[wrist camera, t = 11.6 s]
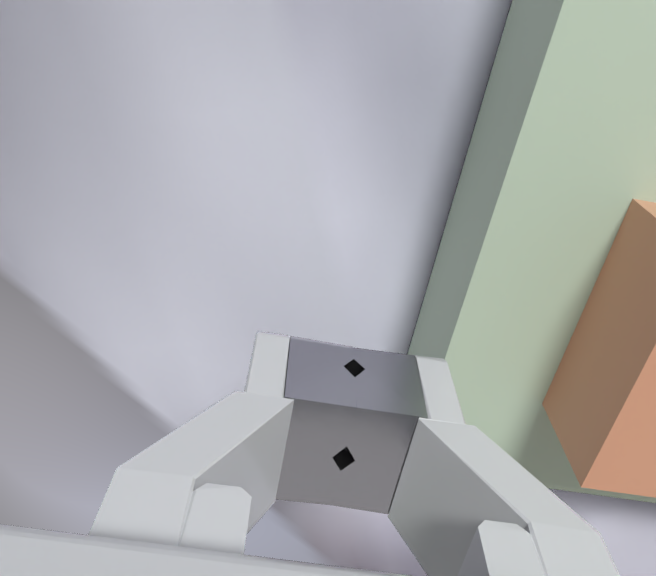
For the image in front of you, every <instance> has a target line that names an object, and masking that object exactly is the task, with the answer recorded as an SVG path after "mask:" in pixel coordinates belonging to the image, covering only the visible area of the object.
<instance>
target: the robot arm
mask: <svg viewBox="0 0 656 576" xmlns="http://www.w3.org/2000/svg"><path fill="white" fill-rule="evenodd" d="M276 499H278V500H288V501H297V502H307V503H317V504H326V505H334V506H340V507H347V508H353V509H359V510H365V511H372V512H378V513H384V514H389V515H388V518H389V519H390V521H391V522H392V524H393V525H394V526H395V528H396V529H397V531H398V532H399V534H400V535H401V537H402V538H403V540H404V541H405V543H406V544H407V546H408V547H409V549H410V550H411V552H412V553H413V555H414V556H415V558H416V559H417V560H418V562H419V563H420V565H421V566H422V568H423V569H424V571H425V572H426V574H427V575H428V576H620V575H619V573H618V571H617V568H616V566H615V564H614V562H613V560H612V558H611V555H610V553H609V551H608V549H607V547H606V545H605V543H604V540H603V538H602V536H601V534H600V533H599V532H598V531H597V530H596V529H595V528H593V527H592V526H591V525H590V524H589V523H588V522H586V521H585V520H584V519H583V518H582V517H581V516H579V515H578V514H577V513H576V512H575V511H574V510H572V509H571V508H570V507H569V506H568V505H567V504H565V503H564V502H563V501H562V500H561V499H560V498H558V497H557V496H556V495H555V494H554V493H553V492H552V491H550V490H549V489H548V488H547V487H546V486H545V485H543V484H542V483H541V482H540V481H539V480H538V479H536V478H535V477H534V476H533V475H532V474H531V473H529V472H528V471H527V470H526V469H525V468H524V467H522V466H521V465H520V464H519V463H518V462H517V461H515V460H514V459H513V458H512V457H511V456H510V455H509V454H507V453H506V452H505V451H504V450H503V449H502V448H500V447H499V446H498V445H497V444H496V443H495V442H493V441H492V440H491V439H490V438H489V437H488V436H486V435H485V434H484V433H483V432H482V431H481V430H479V429H478V428H477V427H476V426H474V425H467V424H466V423H465V420H464V416H463V413H462V410H461V406H460V403H459V400H458V396H457V393H456V389H455V386H454V383H453V379H452V376H451V373H450V369H449V366H448V363H447V361H446V360H444V359H443V358H434V357H425V356H417V355H407V354H399V353H392V352H384V351H376V350H368V349H360V348H353V347H352V346H346V345H341V344H335V343H329V342H323V341H317V340H312V339H306V338H300V337H294V336H290V338H289V336H288V335H284V334H277V333H270V332H263V331H258V332H257V333H256V336H255V341H254V346H253V351H252V356H251V361H250V366H249V371H248V375H247V380H246V385H245V390H244V392H240V391H234V392H232V393H231V394H229V395H228V396H226V397H225V398H223V399H222V400H220V401H218V402H217V403H215V404H214V405H212V406H211V407H209V408H208V409H206V410H205V411H203V412H202V413H200V414H199V415H197V416H195V417H194V418H192V419H191V420H189V421H188V422H186V423H185V424H183V425H182V426H180V427H179V428H177V429H176V430H174V431H172V432H171V433H169V434H168V435H166V436H165V437H163V438H162V439H160V440H159V441H157V442H156V443H154V444H153V445H151V446H150V447H148V448H146V449H145V450H143V451H142V452H140V453H139V454H137V455H136V456H134V457H133V458H131V459H130V460H128V461H126V462H125V463H123V464H122V465H120V466H119V467H117V469H116V471H115V473H114V476H113V478H112V480H111V483H110V485H109V487H108V490H107V492H106V495H105V497H104V499H103V501H102V504H101V506H100V509H99V511H98V513H97V516H96V518H95V520H94V522H93V525H92V527H91V529H90V532H89V534H88V535H83V534H75V533H67V532H59V531H51V530H44V529H35V528H28V527H19V526H11V525H3V524H0V576H411V575H403V574H395V573H387V572H379V571H371V570H363V569H354V568H346V567H338V566H330V565H322V564H314V563H306V562H298V561H290V560H282V559H275V558H267V557H259V556H250V555H244V550H245V542H246V535H247V534H248V532H249V531H250V530H251V529H252V528H253V527H254V526H255V524H256V523H257V522H258V521H259V520H260V519H261V518H262V517H263V515H264V514H265V513H266V512H267V511H268V510H269V509H270V507H271V506H272V505H273V504H274V503H275V500H276Z"/></svg>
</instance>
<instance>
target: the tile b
mask: <svg viewBox="0 0 656 576" xmlns="http://www.w3.org/2000/svg"><path fill="white" fill-rule="evenodd" d="M542 405H543V407H544V409H545V411H546V413H547V415H548V418H549V420H550V422H551V424H552V426H553V428H554V430H555V433H556V435H557V437H558V439H559V441H560V443H561V446H562V448H563V450H564V452H565V454H566V456H567V458H568V461H569V463H570V465H571V467H572V469H573V471H574V473H575V476H576V478H577V480H578V482H579V484H580V486H581V487H582V488H589V489H597V490H604V491H611V492H618V493H626V494H633V495H640V496H647V497H654V498H656V203H654V202H649V201H643V200H638V199H632V201H631V203H630V205H629V208H628V210H627V212H626V214H625V217H624V219H623V221H622V224H621V226H620V228H619V230H618V233H617V235H616V237H615V239H614V242H613V244H612V246H611V248H610V251H609V253H608V255H607V258H606V260H605V262H604V264H603V267H602V269H601V271H600V273H599V276H598V278H597V280H596V282H595V285H594V287H593V289H592V292H591V294H590V296H589V298H588V301H587V303H586V305H585V307H584V310H583V312H582V314H581V316H580V319H579V321H578V323H577V326H576V328H575V330H574V332H573V335H572V337H571V339H570V341H569V344H568V346H567V348H566V350H565V353H564V355H563V357H562V360H561V362H560V364H559V366H558V369H557V371H556V373H555V375H554V378H553V380H552V382H551V384H550V387H549V389H548V391H547V393H546V396H545V398H544V400H543V403H542Z"/></svg>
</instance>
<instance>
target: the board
mask: <svg viewBox="0 0 656 576" xmlns="http://www.w3.org/2000/svg"><path fill="white" fill-rule="evenodd" d="M632 199H638V200H643V201H649V202H654V203H656V0H512V3H511V6H510V10H509V13H508V17H507V20H506V23H505V27H504V30H503V33H502V37H501V40H500V44H499V47H498V50H497V54H496V57H495V60H494V64H493V67H492V71H491V74H490V77H489V81H488V84H487V87H486V91H485V94H484V98H483V101H482V104H481V108H480V111H479V114H478V118H477V121H476V125H475V128H474V131H473V135H472V138H471V141H470V145H469V148H468V151H467V155H466V158H465V162H464V165H463V168H462V172H461V175H460V178H459V182H458V185H457V189H456V192H455V195H454V199H453V202H452V205H451V209H450V212H449V216H448V219H447V222H446V226H445V229H444V232H443V236H442V239H441V243H440V246H439V249H438V253H437V256H436V259H435V263H434V266H433V270H432V273H431V276H430V280H429V283H428V286H427V290H426V293H425V297H424V300H423V303H422V307H421V310H420V313H419V317H418V320H417V323H416V327H415V330H414V334H413V337H412V340H411V344H410V347H409V350H408V354H407V355H417V356H425V357H434V358H443V359H444V360H446V361H447V363H448V366H449V369H450V373H451V376H452V379H453V383H454V386H455V389H456V393H457V396H458V400H459V403H460V406H461V410H462V413H463V416H464V420H465V423H466V424H467V425H474V426H476V427H477V428H478V429H479V430H481V431H482V432H483V433H484V434H485V435H486V436H488V437H489V438H490V439H491V440H492V441H493V442H495V443H496V444H497V445H498V446H499V447H500V448H502V449H503V450H504V451H505V452H506V453H507V454H509V455H510V456H511V457H512V458H513V459H514V460H515V461H517V462H518V463H519V464H520V465H521V466H522V467H524V468H525V469H526V470H527V471H528V472H529V473H531V474H532V475H533V476H534V477H535V478H536V479H538V480H539V481H540V482H541V483H542V484H543V485H545V486H546V487H547V488H550V489H557V490H564V491H571V492H579V493H586V494H593V495H600V496H608V497H615V498H622V499H629V500H637V501H644V502H651V503H656V498H654V497H647V496H640V495H633V494H626V493H618V492H611V491H604V490H597V489H589V488H582V487H581V486H580V484H579V482H578V480H577V478H576V476H575V473H574V471H573V469H572V467H571V465H570V463H569V461H568V458H567V456H566V454H565V452H564V450H563V448H562V446H561V443H560V441H559V439H558V437H557V435H556V433H555V430H554V428H553V426H552V424H551V422H550V420H549V418H548V415H547V413H546V411H545V409H544V407H543V405H542V403H543V400H544V398H545V396H546V393H547V391H548V389H549V387H550V384H551V382H552V380H553V378H554V375H555V373H556V371H557V369H558V366H559V364H560V362H561V360H562V357H563V355H564V353H565V350H566V348H567V346H568V344H569V341H570V339H571V337H572V335H573V332H574V330H575V328H576V326H577V323H578V321H579V319H580V316H581V314H582V312H583V310H584V307H585V305H586V303H587V301H588V298H589V296H590V294H591V292H592V289H593V287H594V285H595V282H596V280H597V278H598V276H599V273H600V271H601V269H602V267H603V264H604V262H605V260H606V258H607V255H608V253H609V251H610V248H611V246H612V244H613V242H614V239H615V237H616V235H617V233H618V230H619V228H620V226H621V224H622V221H623V219H624V217H625V214H626V212H627V210H628V208H629V205H630V203H631V201H632Z"/></svg>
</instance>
